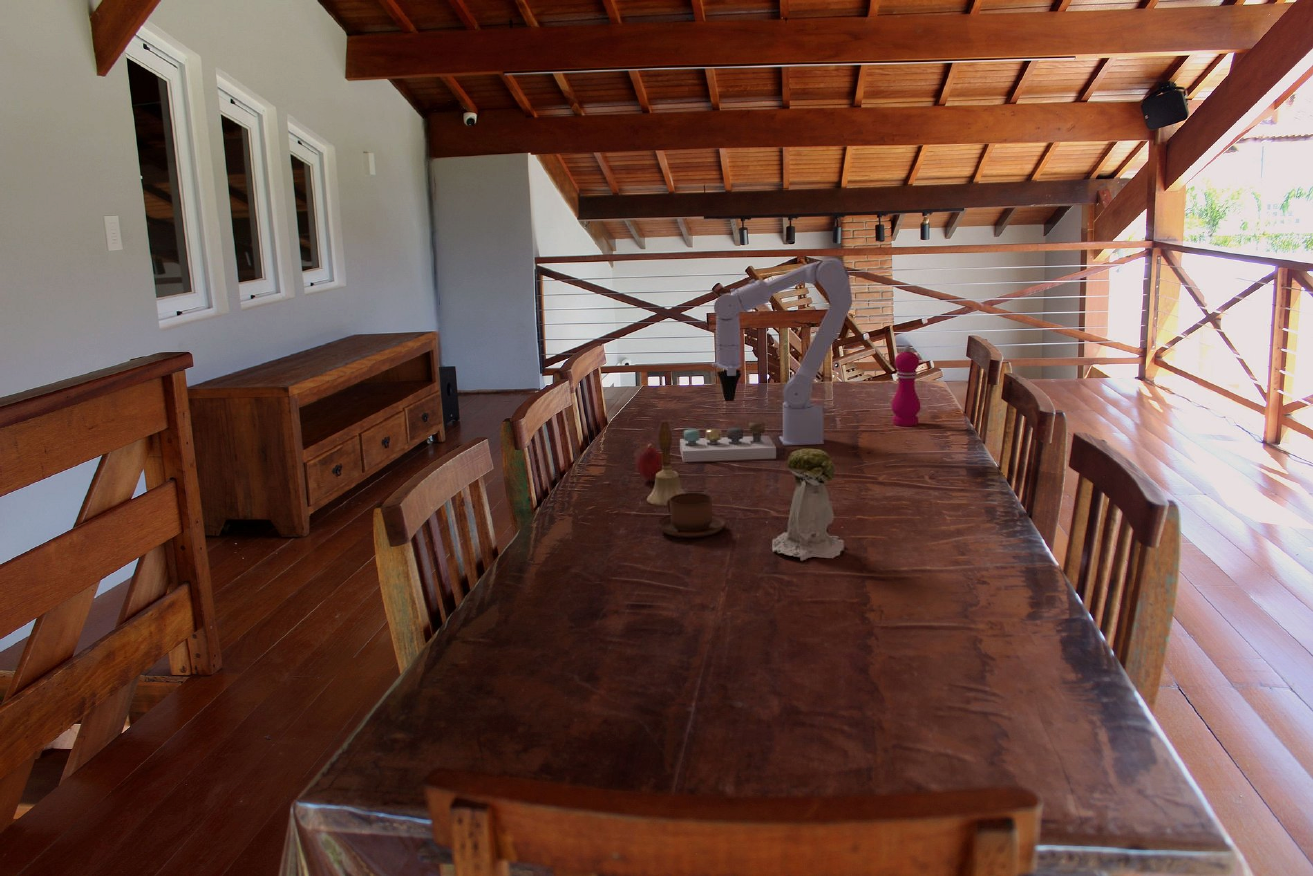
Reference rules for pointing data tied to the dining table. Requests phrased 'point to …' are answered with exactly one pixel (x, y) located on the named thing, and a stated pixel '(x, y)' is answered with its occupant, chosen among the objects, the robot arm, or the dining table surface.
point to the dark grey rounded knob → (735, 435)
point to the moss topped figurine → (809, 508)
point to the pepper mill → (906, 389)
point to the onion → (649, 463)
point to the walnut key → (756, 430)
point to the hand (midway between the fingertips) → (729, 400)
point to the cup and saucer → (691, 516)
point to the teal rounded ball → (691, 436)
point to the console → (728, 450)
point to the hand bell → (665, 471)
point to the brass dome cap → (713, 436)
